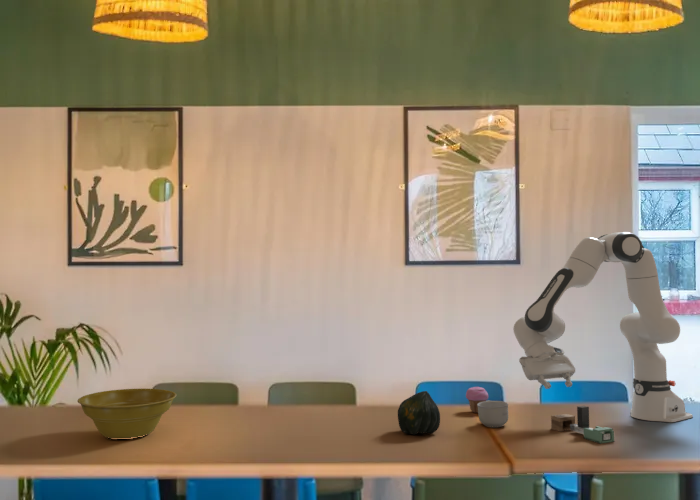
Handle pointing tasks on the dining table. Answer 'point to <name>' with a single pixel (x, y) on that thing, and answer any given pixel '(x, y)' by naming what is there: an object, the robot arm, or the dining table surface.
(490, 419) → the teacup
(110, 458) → the dining table surface
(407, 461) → the dining table surface
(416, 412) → the squash
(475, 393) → the cupcake
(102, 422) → the planter bowl
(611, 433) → the green slotted block
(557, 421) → the socket block
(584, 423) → the two-tone rectangular rod
